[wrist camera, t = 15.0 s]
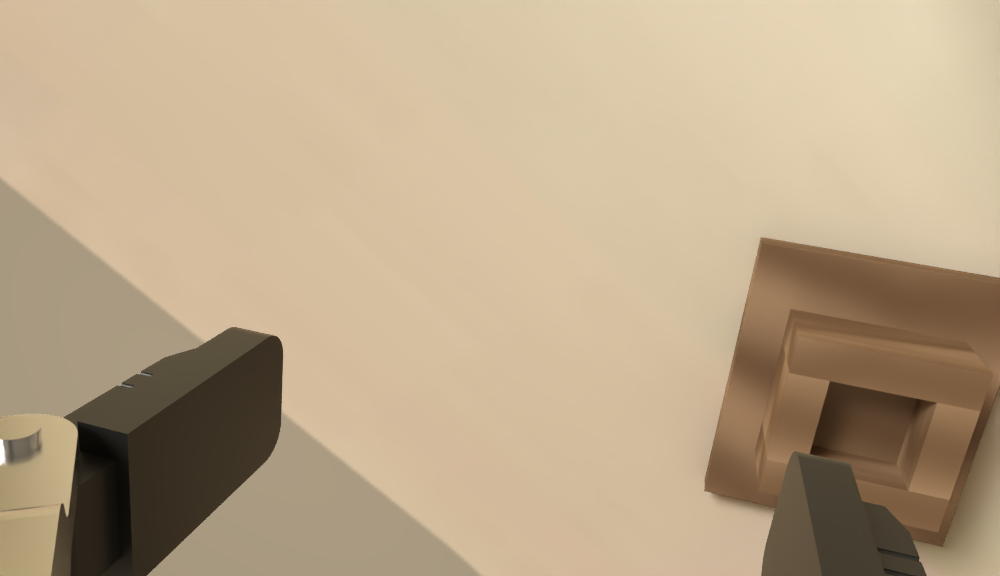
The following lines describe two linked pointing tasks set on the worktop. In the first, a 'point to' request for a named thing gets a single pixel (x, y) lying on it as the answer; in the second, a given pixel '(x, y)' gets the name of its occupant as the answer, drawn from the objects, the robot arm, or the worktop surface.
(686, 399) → the worktop surface
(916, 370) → the stand
